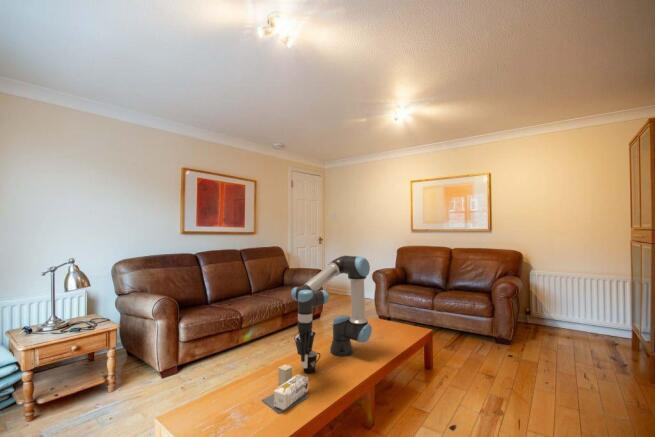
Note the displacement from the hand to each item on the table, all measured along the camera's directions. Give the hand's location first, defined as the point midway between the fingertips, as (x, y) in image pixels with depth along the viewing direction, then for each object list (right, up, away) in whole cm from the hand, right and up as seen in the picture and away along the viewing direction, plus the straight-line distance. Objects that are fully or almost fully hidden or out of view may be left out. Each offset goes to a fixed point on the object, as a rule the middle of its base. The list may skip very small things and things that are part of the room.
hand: (304, 367), depth 153 cm
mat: (-9, -11, -9) cm, 17 cm away
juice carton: (0, -7, -2) cm, 7 cm away
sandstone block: (-11, -12, +5) cm, 16 cm away
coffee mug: (+3, -12, +20) cm, 23 cm away
